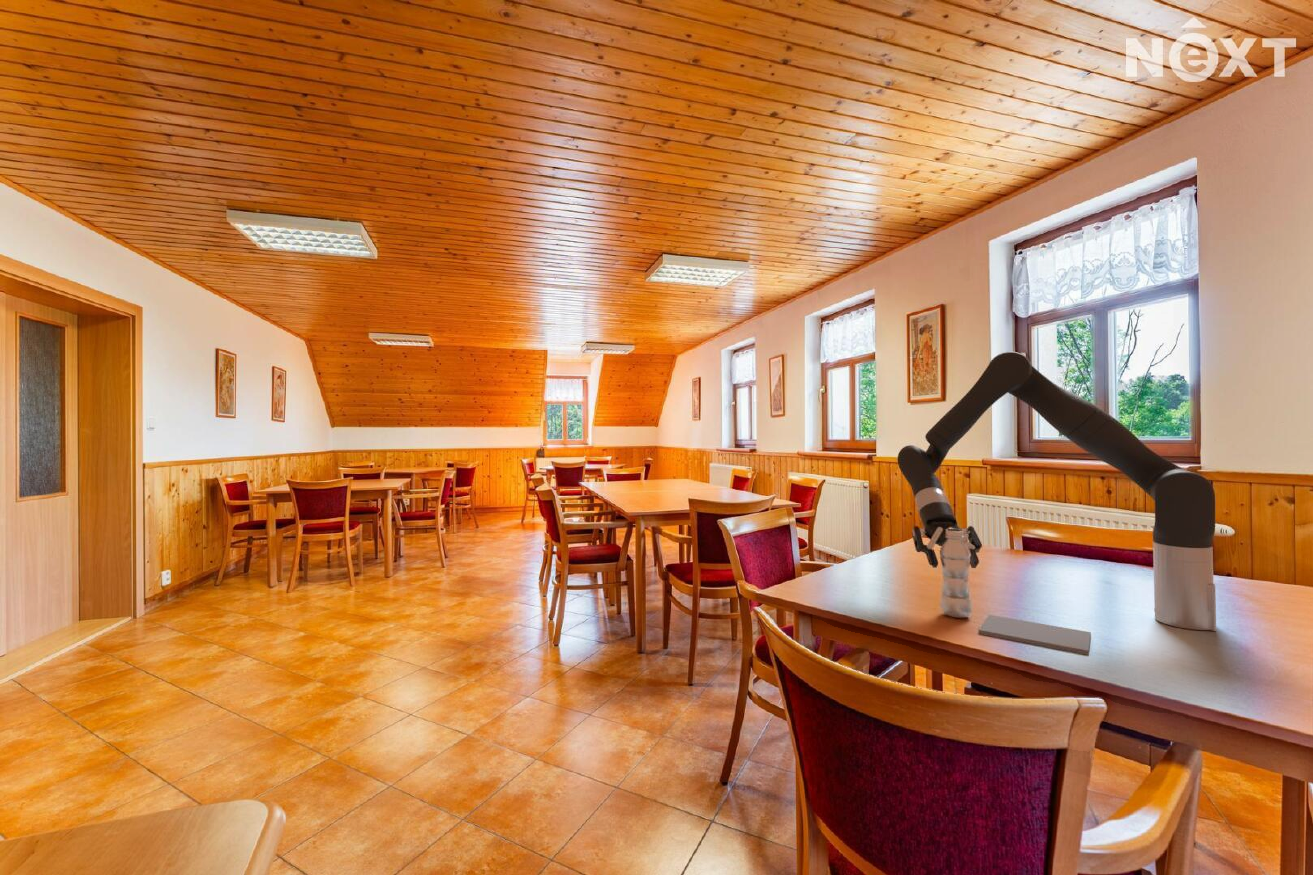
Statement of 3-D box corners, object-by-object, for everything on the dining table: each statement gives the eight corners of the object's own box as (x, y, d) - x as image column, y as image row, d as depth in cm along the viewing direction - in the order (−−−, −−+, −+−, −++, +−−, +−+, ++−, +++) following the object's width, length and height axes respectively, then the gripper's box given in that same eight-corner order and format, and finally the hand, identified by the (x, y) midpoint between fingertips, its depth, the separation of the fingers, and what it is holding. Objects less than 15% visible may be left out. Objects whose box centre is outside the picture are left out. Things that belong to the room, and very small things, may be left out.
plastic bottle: (975, 615, 123) (973, 529, 123) (968, 623, 118) (966, 533, 118) (945, 609, 127) (943, 526, 127) (936, 617, 122) (934, 530, 122)
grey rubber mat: (1090, 636, 109) (1090, 632, 109) (1088, 654, 100) (1088, 650, 100) (989, 618, 121) (989, 614, 121) (978, 633, 112) (978, 629, 112)
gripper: (908, 500, 132) (927, 557, 121) (969, 500, 131) (993, 557, 119) (901, 518, 138) (919, 574, 126) (960, 518, 136) (982, 574, 124)
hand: (955, 566), depth 123 cm, fingers open, 8 cm apart
